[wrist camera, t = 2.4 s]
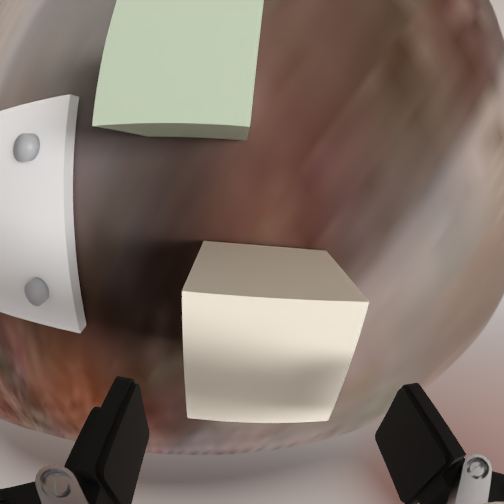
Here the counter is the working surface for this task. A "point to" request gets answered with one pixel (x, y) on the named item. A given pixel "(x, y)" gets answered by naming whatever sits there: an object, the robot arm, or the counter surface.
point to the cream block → (267, 333)
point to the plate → (39, 214)
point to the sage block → (179, 68)
